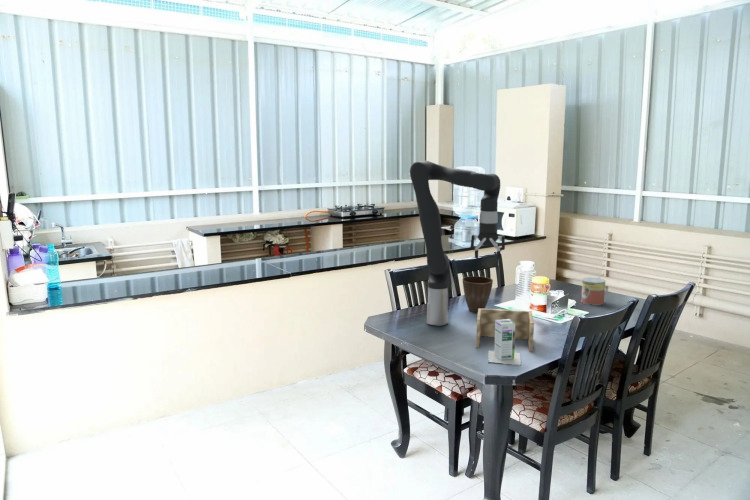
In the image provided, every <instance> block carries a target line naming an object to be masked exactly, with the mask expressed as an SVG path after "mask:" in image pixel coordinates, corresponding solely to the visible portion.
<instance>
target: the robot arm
mask: <svg viewBox="0 0 750 500" xmlns="http://www.w3.org/2000/svg"><path fill="white" fill-rule="evenodd" d="M409 176H410V179H411V183H412V187H413V191H414V194H415V198H416V204H417V209H418V216H419V222H420V227H421V231H422V236H423V240H424V244H425V251H426V265H427V268H428V271H429V272H428V281H427V304H426V324H427V325H432V326H437V327H438V326H439V327H440V326H445V325H447V324H448V318H449V317H448V315H449V314H448V310H449V309H448V308H449V306H448V305H449V303H448V302H449V281H450V258H449V257H448V255H447V254H446V253H445V252H444V248H443V243H442V242H443V241H442V220H441V214H440V210H439V209H440V208H439V207H438V204H437V203H436V200H435V199H434V197H433V195H432V193H431V190H430V188H431V187H430V184H429V181H442V182H443V181H444V182H447V183H450V184H452V185H455V186H458V187H465V188H471V189H472V188H473V189H476V190H478V191H483V197H482V198H481V199H480V206H479V209H480V212H479V219H478V220H479V223H478V225H479V226H478V227H479V228H478V234H477V235H476V234H471V238H470V239H471V240H470V249H471V250H473V251H474V258H475V259H476V260H478V259H479V249H480V248H481V247H482V246H488V247H489V246H494V248H495V249H496V260H497V261H499V259H500V258H501V252H502V251H504V250H505V249H506V245H505V244H506V239H505V235H504V234H502V235H498V221H499V219H498V203H499V202H498V200H499V196H500V190H501V179H500V177H499V176H498V175H497V174H496V173H480V172H476V171H473V170H469V169H461V168H454V167H447V166H443V165H441V164H437V163H435V162H431V161H429V160H420V161H415V162H413V163H412V164H411V166H410V169H409ZM477 239H478V240H479V242H478V243H477V245H476V246H475V241H476V240H477ZM498 240H499V241H500V242H501V247H500V246H499V244H498V243H497V241H498Z"/></svg>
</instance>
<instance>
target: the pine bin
mask: <svg viewBox="0 0 750 500" xmlns="http://www.w3.org/2000/svg"><path fill="white" fill-rule="evenodd" d="M503 319H510V320H512V321H513V322H515V339H518V340H519V339H520V340H527V344H528V351H529V353H533V351H534V331H535V330H534V328H535V322H534V321H535V320H534V316H533V312H532V311H531V310H513V309H497V308H485V309H481V308H478V312H477V317H476V338H475V339H476V340H475V341H476V342H475V346H476V347H475V348H476V349H479V348H480V344H481V342H480V341H481V337H487V336H488V337H489V338H491V337H492V338H495V320H503ZM488 337H487V338H488Z"/></svg>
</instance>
